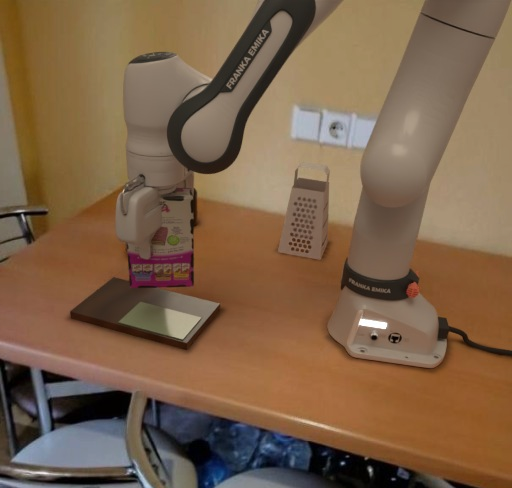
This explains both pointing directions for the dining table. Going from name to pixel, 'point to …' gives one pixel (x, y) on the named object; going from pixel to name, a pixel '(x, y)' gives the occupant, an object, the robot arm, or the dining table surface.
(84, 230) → the dining table surface
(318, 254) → the grater
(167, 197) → the candy bar box
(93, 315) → the board
